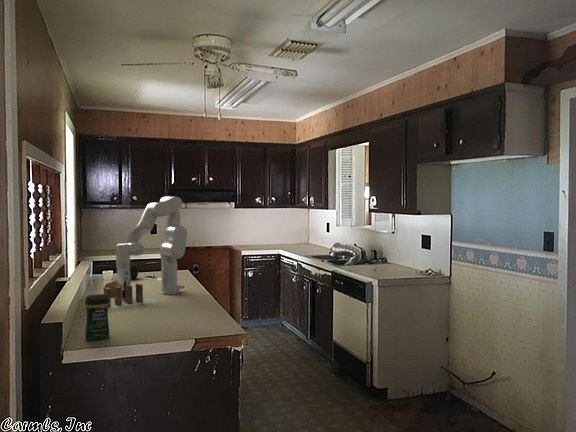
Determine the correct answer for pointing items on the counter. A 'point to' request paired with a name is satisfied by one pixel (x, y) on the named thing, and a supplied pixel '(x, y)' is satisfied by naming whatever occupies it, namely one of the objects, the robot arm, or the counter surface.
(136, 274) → the squash
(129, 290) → the domino
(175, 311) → the counter surface
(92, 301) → the coffee jar
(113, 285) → the tin
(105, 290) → the domino
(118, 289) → the domino
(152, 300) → the mat
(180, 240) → the robot arm
